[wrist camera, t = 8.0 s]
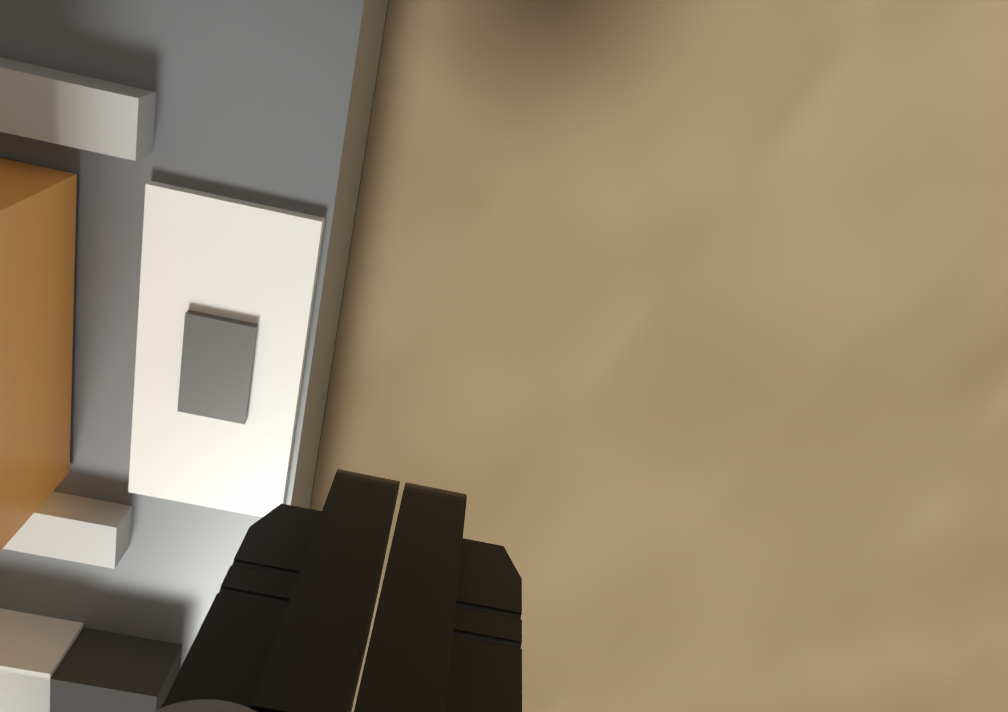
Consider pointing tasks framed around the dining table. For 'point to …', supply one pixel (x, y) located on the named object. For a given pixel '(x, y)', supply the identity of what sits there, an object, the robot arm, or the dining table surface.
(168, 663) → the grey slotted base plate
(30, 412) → the block
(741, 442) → the dining table surface
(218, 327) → the breaker panel
